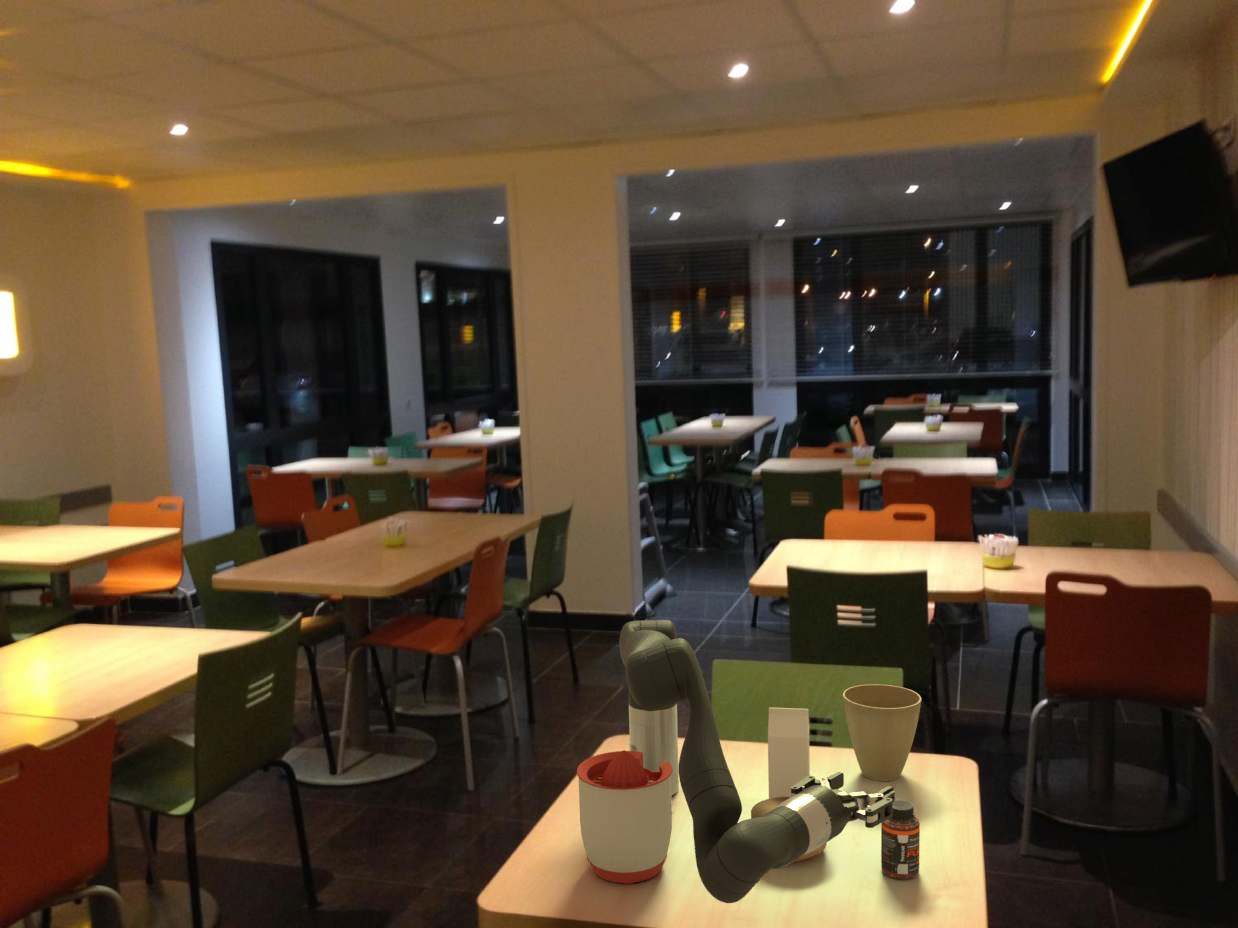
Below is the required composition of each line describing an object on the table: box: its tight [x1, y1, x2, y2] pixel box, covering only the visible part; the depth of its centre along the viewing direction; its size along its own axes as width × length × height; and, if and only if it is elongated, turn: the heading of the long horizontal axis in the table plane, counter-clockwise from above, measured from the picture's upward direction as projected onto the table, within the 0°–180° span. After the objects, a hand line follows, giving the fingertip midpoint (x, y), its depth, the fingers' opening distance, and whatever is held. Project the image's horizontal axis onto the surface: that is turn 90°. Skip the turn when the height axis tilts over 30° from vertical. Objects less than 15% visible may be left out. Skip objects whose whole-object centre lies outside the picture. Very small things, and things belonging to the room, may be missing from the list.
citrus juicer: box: [576, 749, 673, 885], centre depth 176 cm, size 16×17×20 cm
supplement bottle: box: [880, 799, 921, 880], centre depth 172 cm, size 6×6×11 cm
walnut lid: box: [750, 797, 791, 819], centre depth 180 cm, size 13×13×1 cm
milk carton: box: [767, 707, 811, 799], centre depth 196 cm, size 7×7×19 cm
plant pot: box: [842, 683, 922, 782], centre depth 211 cm, size 15×15×16 cm
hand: (866, 785), depth 163 cm, fingers open, 8 cm apart
